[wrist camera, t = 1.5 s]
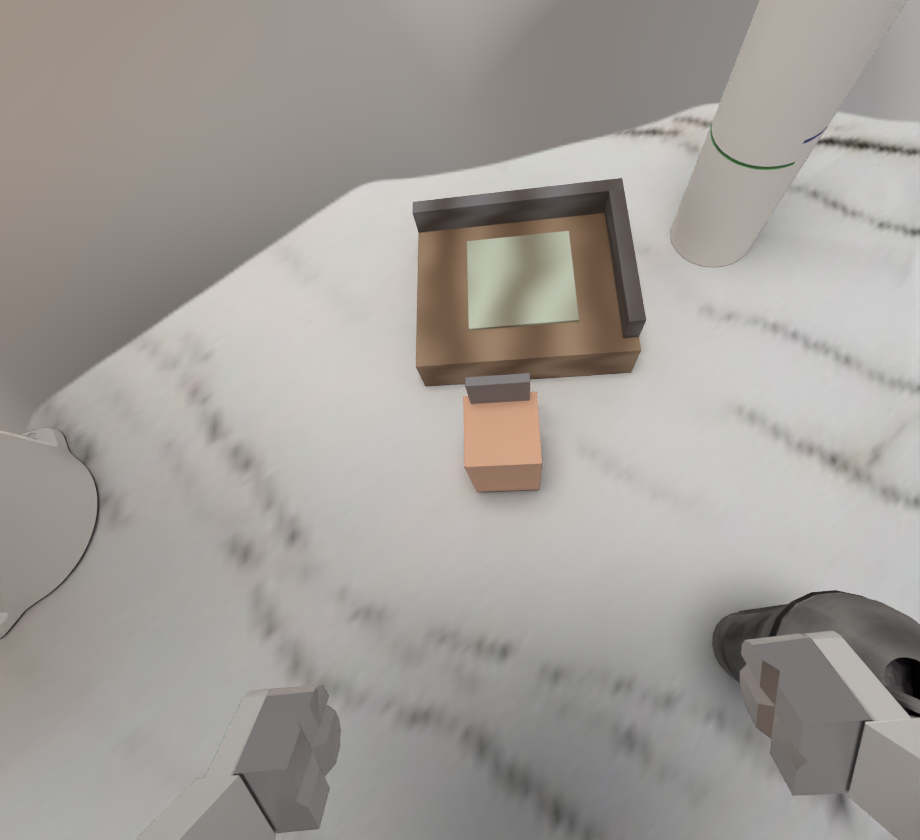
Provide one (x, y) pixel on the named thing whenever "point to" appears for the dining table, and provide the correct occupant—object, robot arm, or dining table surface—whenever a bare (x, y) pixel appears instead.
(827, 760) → the robot arm
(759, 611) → the beverage cup
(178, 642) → the dining table surface
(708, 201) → the cylindrical container
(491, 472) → the tan block
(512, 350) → the dock
